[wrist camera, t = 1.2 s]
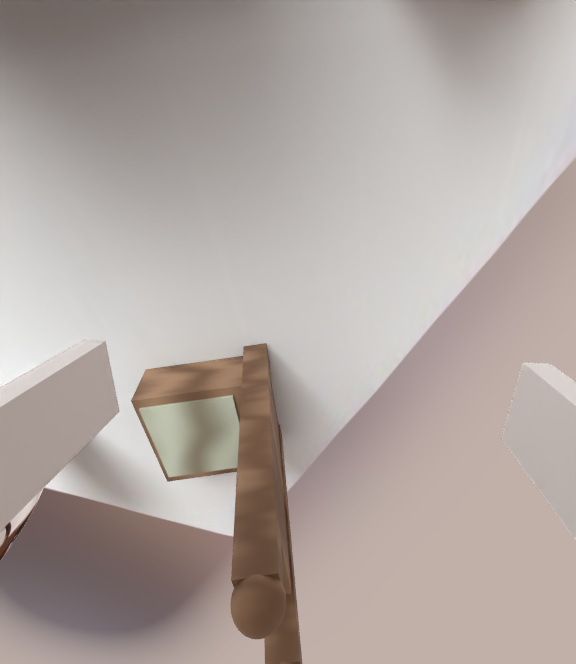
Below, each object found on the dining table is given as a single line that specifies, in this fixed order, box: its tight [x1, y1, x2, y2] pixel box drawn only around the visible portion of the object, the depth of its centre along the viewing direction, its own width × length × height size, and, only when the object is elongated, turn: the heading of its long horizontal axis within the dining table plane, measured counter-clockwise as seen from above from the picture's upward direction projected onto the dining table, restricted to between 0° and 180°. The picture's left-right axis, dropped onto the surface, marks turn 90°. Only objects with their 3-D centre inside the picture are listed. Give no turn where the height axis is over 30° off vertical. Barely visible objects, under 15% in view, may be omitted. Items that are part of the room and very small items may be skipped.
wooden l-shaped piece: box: [131, 344, 302, 664], centre depth 29 cm, size 13×15×24 cm
